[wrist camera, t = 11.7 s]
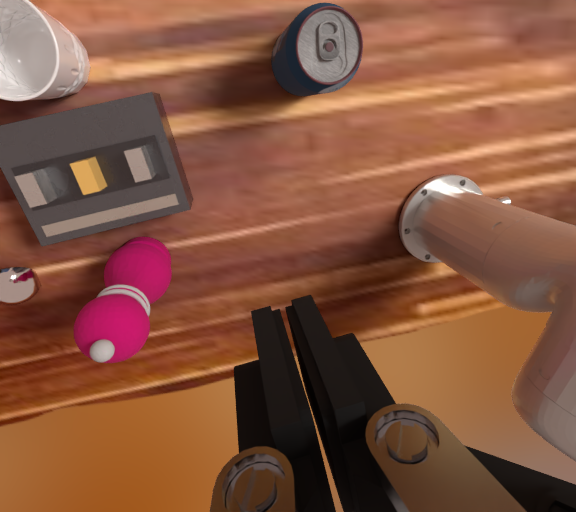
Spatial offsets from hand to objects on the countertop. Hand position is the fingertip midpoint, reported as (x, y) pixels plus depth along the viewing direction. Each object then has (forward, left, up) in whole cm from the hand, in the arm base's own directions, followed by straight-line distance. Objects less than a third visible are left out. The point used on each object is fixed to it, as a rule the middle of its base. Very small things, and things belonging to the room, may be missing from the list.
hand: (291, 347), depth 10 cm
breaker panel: (+14, -3, -37) cm, 40 cm away
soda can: (-10, -9, -37) cm, 40 cm away
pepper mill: (+14, +9, -37) cm, 41 cm away
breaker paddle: (+14, -3, -32) cm, 35 cm away
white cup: (+15, -14, -37) cm, 43 cm away
